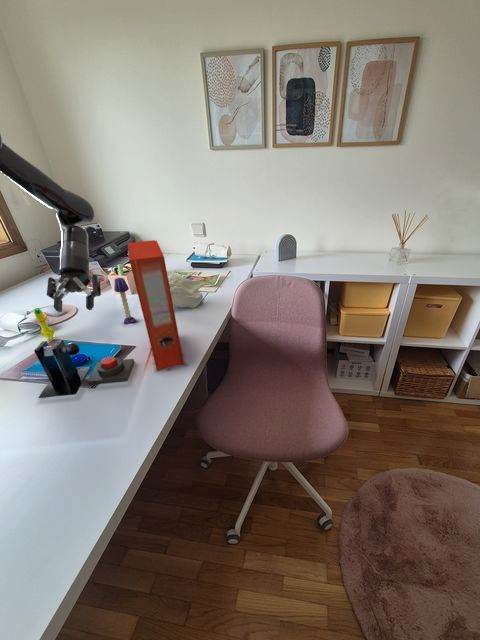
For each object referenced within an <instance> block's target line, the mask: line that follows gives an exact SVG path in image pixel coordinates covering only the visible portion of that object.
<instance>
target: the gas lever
mask: <svg viewBox="0 0 480 640" xmlns="http://www.w3.org/2000/svg"><path fill="white" fill-rule="evenodd" d="M65 345H66V348H67V350H68V352H69V354H70V356H76V355H78V354H79V353H80V350H81V348H80V346H79V345H78V343H76V342H70V343H67V344H65ZM53 347H54V345H49V346H48V347H43V348H44V356H54V354H53V352H52V350H51V349H52V348H53ZM54 357H55V356H54Z"/></svg>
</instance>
